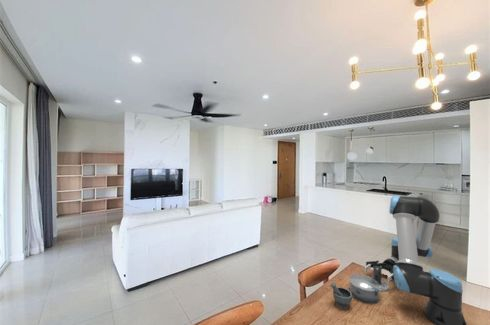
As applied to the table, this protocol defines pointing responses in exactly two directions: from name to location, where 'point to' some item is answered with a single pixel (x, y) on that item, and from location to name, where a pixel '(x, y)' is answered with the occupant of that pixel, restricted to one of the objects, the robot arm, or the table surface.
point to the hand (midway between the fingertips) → (376, 273)
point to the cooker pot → (364, 288)
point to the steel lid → (379, 278)
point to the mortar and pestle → (341, 296)
